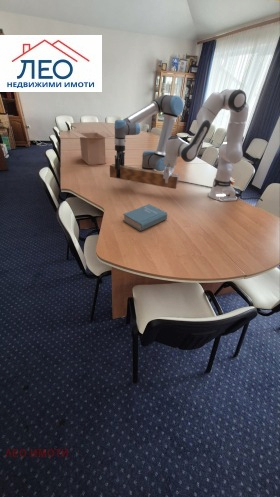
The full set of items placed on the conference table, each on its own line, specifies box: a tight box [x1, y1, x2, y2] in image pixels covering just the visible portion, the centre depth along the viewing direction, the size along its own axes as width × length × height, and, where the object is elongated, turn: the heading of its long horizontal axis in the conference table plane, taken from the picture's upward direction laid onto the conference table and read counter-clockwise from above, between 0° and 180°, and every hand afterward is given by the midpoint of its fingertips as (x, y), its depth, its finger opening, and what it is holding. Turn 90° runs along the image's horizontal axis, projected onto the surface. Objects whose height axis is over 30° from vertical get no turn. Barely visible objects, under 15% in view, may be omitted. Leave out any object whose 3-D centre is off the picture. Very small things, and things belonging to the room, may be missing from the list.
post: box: [109, 163, 180, 190], centre depth 166 cm, size 52×5×9 cm, turn 72°
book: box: [122, 203, 168, 232], centre depth 138 cm, size 23×16×5 cm
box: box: [70, 129, 114, 166], centre depth 229 cm, size 44×36×27 cm
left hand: (119, 176), depth 173 cm, fingers closed on post, 5 cm apart
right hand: (167, 181), depth 163 cm, fingers closed on post, 5 cm apart
